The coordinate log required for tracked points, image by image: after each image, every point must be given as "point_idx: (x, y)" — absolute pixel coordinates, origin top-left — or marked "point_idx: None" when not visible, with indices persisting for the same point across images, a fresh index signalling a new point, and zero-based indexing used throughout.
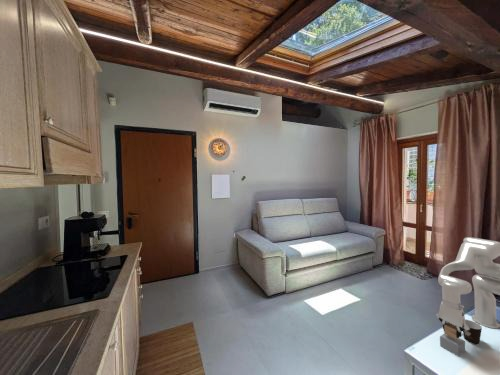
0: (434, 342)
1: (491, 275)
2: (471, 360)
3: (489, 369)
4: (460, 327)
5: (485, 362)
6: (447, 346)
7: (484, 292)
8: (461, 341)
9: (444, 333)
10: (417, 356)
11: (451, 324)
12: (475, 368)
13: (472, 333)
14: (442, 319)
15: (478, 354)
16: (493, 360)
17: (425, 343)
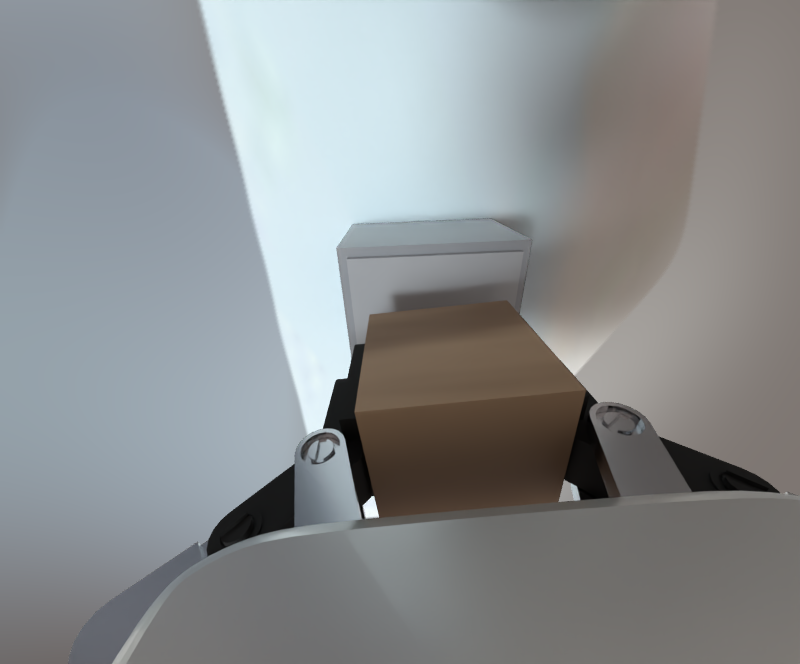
0: (324, 342)
1: None
2: (547, 299)
3: (647, 283)
4: (642, 475)
5: (627, 222)
6: None
7: None
8: (513, 303)
9: (347, 316)
10: (366, 507)
11: (442, 436)
12: (576, 354)
13: None
14: (282, 528)
15: (578, 153)
16: (687, 110)
17: (311, 402)
